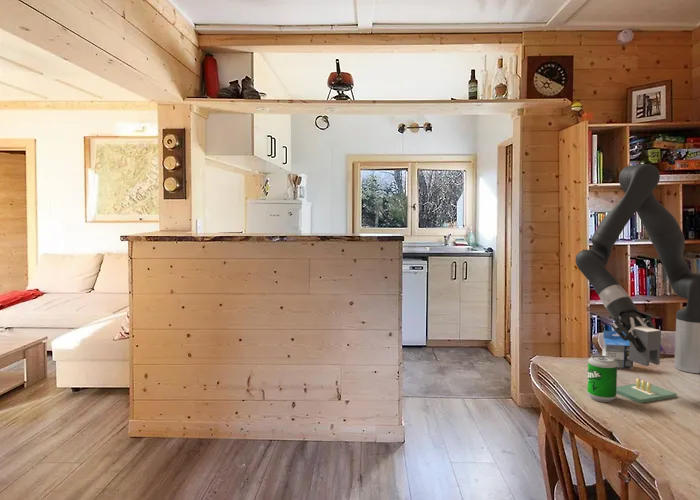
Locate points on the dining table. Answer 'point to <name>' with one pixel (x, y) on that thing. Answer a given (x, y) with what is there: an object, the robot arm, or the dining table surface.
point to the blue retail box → (617, 349)
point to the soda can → (602, 378)
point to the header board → (644, 392)
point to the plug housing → (646, 346)
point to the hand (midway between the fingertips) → (650, 350)
